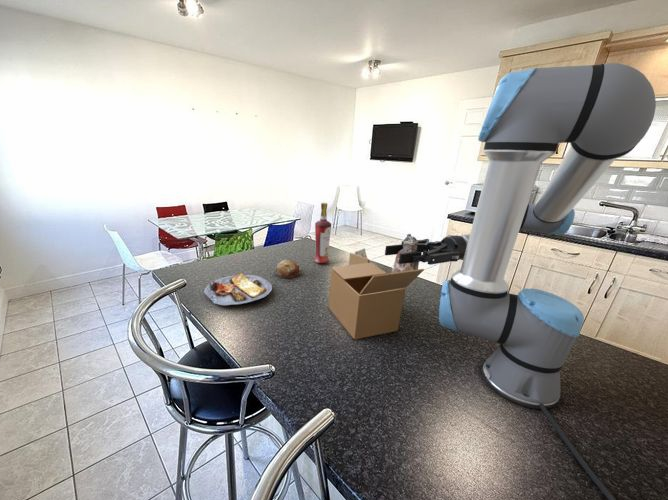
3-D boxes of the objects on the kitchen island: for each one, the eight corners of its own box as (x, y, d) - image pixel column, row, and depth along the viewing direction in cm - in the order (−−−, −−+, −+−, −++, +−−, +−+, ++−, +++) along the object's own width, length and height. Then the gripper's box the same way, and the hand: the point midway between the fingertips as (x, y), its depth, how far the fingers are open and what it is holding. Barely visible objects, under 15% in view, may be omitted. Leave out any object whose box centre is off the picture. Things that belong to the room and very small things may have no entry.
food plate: (196, 288, 113) (195, 280, 112) (250, 274, 126) (250, 266, 125) (222, 317, 95) (221, 307, 94) (282, 297, 108) (282, 288, 107)
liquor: (321, 258, 145) (324, 201, 133) (332, 263, 140) (336, 203, 128) (310, 261, 140) (312, 202, 129) (321, 266, 135) (324, 205, 124)
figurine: (391, 278, 84) (398, 238, 80) (391, 269, 91) (397, 231, 86) (418, 281, 83) (426, 240, 78) (415, 271, 89) (423, 233, 84)
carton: (397, 330, 90) (406, 286, 84) (354, 339, 86) (359, 293, 79) (366, 301, 106) (371, 262, 100) (328, 307, 102) (331, 267, 96)
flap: (405, 286, 84) (406, 287, 84) (359, 293, 79) (360, 294, 79) (423, 268, 76) (424, 269, 76) (373, 275, 72) (374, 276, 71)
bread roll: (276, 277, 132) (269, 264, 127) (295, 265, 133) (288, 251, 129) (285, 287, 123) (277, 272, 119) (305, 274, 125) (298, 259, 121)
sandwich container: (387, 284, 119) (393, 250, 113) (363, 296, 110) (368, 259, 104) (370, 278, 125) (374, 244, 119) (346, 288, 116) (349, 252, 110)
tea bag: (350, 271, 131) (352, 250, 126) (359, 267, 135) (361, 247, 131) (357, 274, 128) (359, 252, 124) (365, 270, 133) (368, 249, 128)
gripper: (481, 271, 82) (412, 280, 76) (433, 249, 99) (373, 255, 92) (488, 245, 79) (417, 253, 73) (438, 227, 96) (376, 232, 89)
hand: (392, 254), depth 82 cm, fingers closed on figurine, 6 cm apart
